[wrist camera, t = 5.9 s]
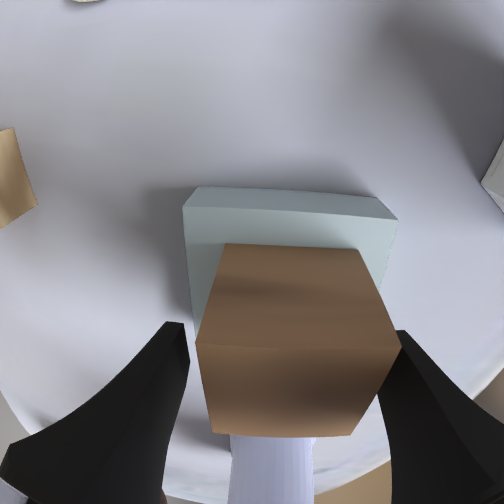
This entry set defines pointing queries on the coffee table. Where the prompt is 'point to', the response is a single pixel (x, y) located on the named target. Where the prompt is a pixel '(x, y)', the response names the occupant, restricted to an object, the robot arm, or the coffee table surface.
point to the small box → (496, 178)
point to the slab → (279, 229)
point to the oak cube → (13, 180)
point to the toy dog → (85, 0)
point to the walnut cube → (292, 342)
